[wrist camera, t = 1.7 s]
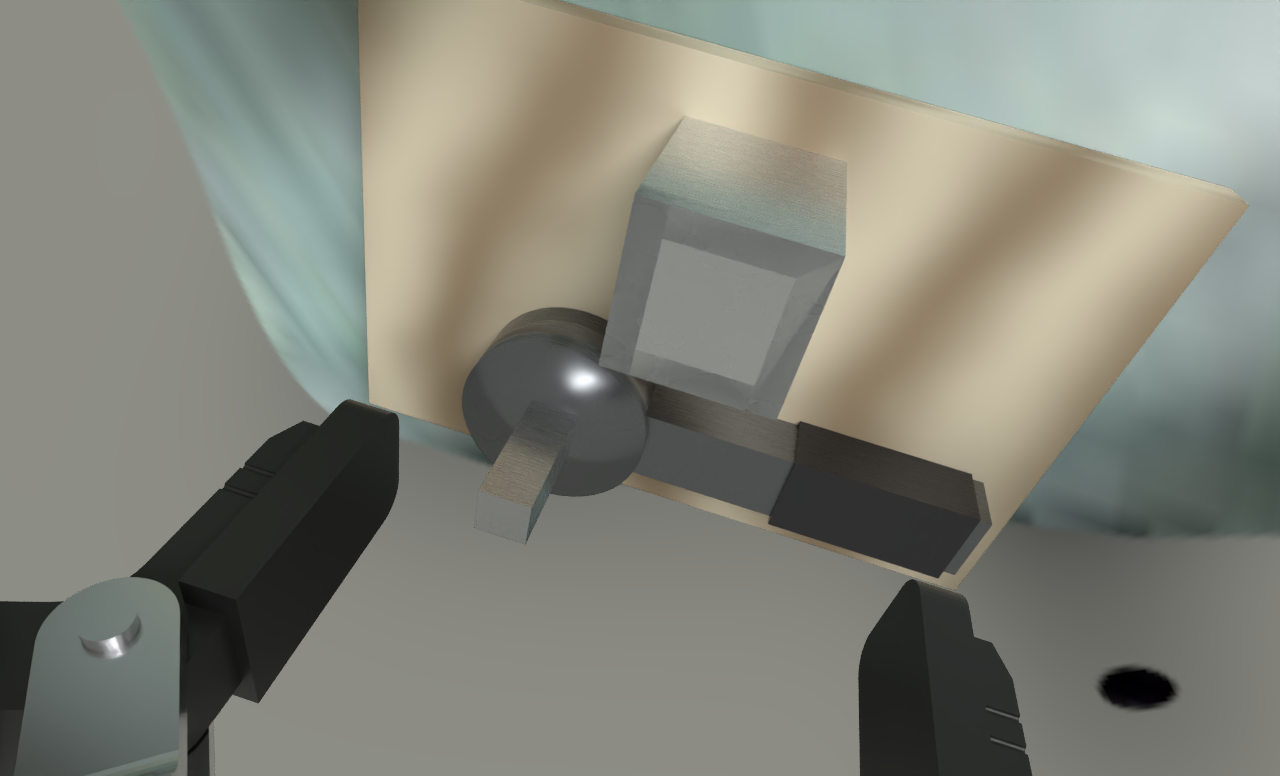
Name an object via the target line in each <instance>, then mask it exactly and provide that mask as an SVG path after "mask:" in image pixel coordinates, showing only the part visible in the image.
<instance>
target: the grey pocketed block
mask: <svg viewBox="0 0 1280 776" xmlns="http://www.w3.org/2000/svg"><path fill="white" fill-rule="evenodd" d="M846 206H847V162H845V161H841V160H838V159H834V158H831V157H827V156H824V155H820V154H817V153H813V152H810V151H806V150H803V149H800V148H796V147H793V146H789V145H786V144H782V143H779V142H775V141H772V140H768V139H765V138H761V137H758V136H754V135H751V134H747V133H744V132H740V131H737V130H733V129H730V128H726V127H723V126H719V125H716V124H712V123H709V122H705V121H702V120H699V119H695V118H692V117H688V116H685V117H684V119H683V120H682V122H681V123H680V125H679V126H678V128H677V129H676V131H675V133H674V134H673V136H672V137H671V139H670V140H669V142H668V143H667V145H666V146H665V148H664V150H663V151H662V153H661V154H660V156H659V157H658V159H657V160H656V162H655V163H654V165H653V167H652V168H651V170H650V171H649V173H648V174H647V176H646V177H645V179H644V180H643V182H642V184H641V185H640V187H639V188H638V190H637V191H636V193H635V194H634V199H633V204H632V209H631V213H630V218H629V223H628V228H627V232H626V237H625V242H624V247H623V251H622V256H621V261H620V265H619V270H618V275H617V280H616V284H615V289H614V294H613V299H612V303H611V308H610V313H609V317H608V322H607V327H606V332H605V336H604V341H603V346H602V351H601V355H600V360H599V366H602V367H605V368H608V369H612V370H615V371H618V372H621V373H625V374H628V375H631V376H634V377H637V378H641V379H644V380H647V381H650V382H653V383H657V384H660V385H663V386H666V387H670V388H673V389H676V390H679V391H682V392H686V393H689V394H692V395H695V396H699V397H702V398H705V399H708V400H711V401H715V402H718V403H721V404H724V405H727V406H731V407H734V408H737V409H740V410H744V411H747V412H750V413H753V414H756V415H760V416H763V417H766V418H769V419H772V420H777V418H778V416H779V413H780V411H781V408H782V406H783V404H784V401H785V399H786V397H787V394H788V392H789V389H790V387H791V385H792V382H793V380H794V378H795V375H796V373H797V371H798V368H799V366H800V363H801V361H802V359H803V356H804V354H805V352H806V349H807V347H808V344H809V342H810V340H811V337H812V335H813V333H814V330H815V328H816V325H817V323H818V321H819V318H820V316H821V314H822V311H823V309H824V306H825V304H826V302H827V299H828V297H829V295H830V292H831V290H832V287H833V285H834V283H835V280H836V278H837V276H838V273H839V271H840V269H841V266H842V264H843V261H844V259H845V257H846Z"/></svg>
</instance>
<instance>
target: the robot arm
mask: <svg viewBox="0 0 1280 776" xmlns="http://www.w3.org/2000/svg"><path fill="white" fill-rule="evenodd" d="M398 481H399V419H398V416H397V415H396V414H395V413H392V412H389V411H385V410H382V409H379V408H376V407H373V406H370V405H366V404H363V403H360V402H357V401H354V400H351V399H349V400H345V401H344V402H342V403H341V404H340V405H339V406H338V407H337V408H336V409H335V410H334V411H333V412H332V413H331V414H330V415H329V417H328V418H327V419H326V420H325V421H324V422H323V423H322V424H321V425H320V426H318V425H314V424H312V423H308V422H305V421H302V422H300V423H298V424H296V425H295V426H292V427H291V428H288V429H286V430H284V431H283V432H281V433H279V434H277V435H275V436H273V437H271V438H269V439H268V440H267V441H266V442H265V443H264V444H263V445H262V446H261V447H260V448H259V449H258V450H257V451H256V452H255V453H254V454H253V455H252V456H251V457H250V459H248V460H247V461H246V462H245V466H244V468H239V470H238V471H237V472H236V473H235V474H234V475H233V476H232V477H231V478H230V479H229V480H228V481H227V482H226V483H225V486H224V488H223V489H219V490H218V491H217V492H216V493H215V494H214V495H213V496H212V497H211V498H210V499H209V500H208V501H207V502H206V503H205V504H204V505H203V506H202V507H201V508H200V509H199V510H198V511H197V512H196V513H195V514H194V515H193V516H192V517H191V518H190V519H189V520H188V521H187V522H186V523H185V524H184V525H183V526H182V527H181V528H180V530H179V531H178V532H176V534H175V535H173V537H172V538H171V539H170V540H169V541H168V542H167V543H166V544H165V545H164V546H163V547H162V548H161V549H160V550H159V551H158V552H157V553H156V554H155V555H154V556H153V557H152V558H151V559H150V560H149V561H148V562H147V563H146V564H145V565H144V566H143V567H142V568H140V569H139V570H138V571H137V572H136V573H134V574H133V575H132V576H130V577H125V578H117V579H112V580H108V581H104V582H100V583H97V584H94V585H92V586H89V587H87V588H85V589H83V590H81V591H79V592H77V593H76V594H74V595H72V596H71V597H69V598H67V599H66V600H65V601H62V602H8V601H5V602H4V601H0V776H215V751H214V750H215V749H214V723H213V720H214V719H215V718H216V716H217V715H218V713H219V712H220V711H221V709H222V708H223V707H224V705H225V704H226V703H227V701H228V700H229V698H230V697H231V696H232V695H235V696H238V697H241V698H244V699H247V700H250V701H253V702H256V703H259V702H260V700H261V699H262V697H263V696H264V695H265V693H266V692H267V690H268V689H269V687H270V686H271V684H272V683H273V681H274V680H275V679H276V677H277V676H278V674H279V673H280V671H281V670H282V669H283V667H284V665H285V664H286V663H287V661H288V660H289V658H290V657H291V655H292V654H293V653H294V651H295V650H296V648H297V647H298V645H299V644H300V642H301V641H302V639H303V638H304V637H305V635H306V634H307V632H308V631H309V629H310V628H311V626H312V625H313V623H314V622H315V621H316V619H317V618H318V616H319V615H320V613H321V612H322V611H323V609H324V608H325V606H326V605H327V603H328V602H329V600H330V599H331V598H332V596H333V595H334V593H335V592H336V590H337V589H338V587H339V586H340V584H341V583H342V582H343V580H344V579H345V577H346V576H347V574H348V573H349V571H350V570H351V569H352V567H353V566H354V564H355V563H356V561H357V560H358V558H359V557H360V555H361V554H362V553H363V551H364V549H365V548H366V547H367V545H368V544H369V542H370V541H371V540H372V538H373V537H374V535H375V534H376V532H377V531H378V529H379V528H380V526H381V525H382V524H383V522H384V520H385V519H386V517H387V516H388V514H389V512H390V510H391V507H392V505H393V502H394V500H395V497H396V493H397V489H398ZM858 680H859V732H860V733H859V736H860V738H859V739H860V776H1032V772H1031V768H1030V763H1029V758H1028V755H1027V754H1025V748H1026V743H1025V738H1024V733H1023V728H1022V724H1021V723H1019V717H1020V713H1019V709H1018V704H1017V699H1016V694H1015V689H1014V684H1013V679H1012V677H1011V676H1010V674H1009V672H1008V670H1007V669H1006V667H1005V665H1004V663H1003V662H1002V660H1001V658H1000V656H999V655H998V653H997V651H996V649H995V647H994V646H993V644H992V643H991V642H988V641H985V640H981V639H979V638H976V637H974V635H973V629H972V623H971V617H970V611H969V606H968V602H967V600H966V598H965V597H964V596H963V595H961V594H958V593H954V592H951V591H948V590H945V589H942V588H938V587H935V586H932V585H929V584H926V583H923V582H919V581H916V580H913V579H912V580H909V581H907V582H906V583H905V585H904V586H903V587H902V588H901V590H900V591H899V593H898V594H897V596H896V597H895V598H894V600H893V601H892V603H891V604H890V606H889V607H888V608H887V610H886V611H885V613H884V614H883V616H882V617H881V618H880V620H879V621H878V623H877V624H876V626H875V627H874V628H873V630H872V631H871V633H870V634H869V636H868V638H867V640H866V643H865V645H864V648H863V651H862V654H861V659H860V665H859V678H858Z"/></svg>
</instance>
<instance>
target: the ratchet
mask: <svg viewBox="0 0 1280 776" xmlns="http://www.w3.org/2000/svg"><path fill="white" fill-rule="evenodd" d="M607 322H608V321H607V320H605V319H603V318H601V317H599V316H597V315H594V314H591V313H588V312H585V311H581V310H577V309H572V308H564V307H549V308H541V309H536V310H533V311H529V312H527V313H524V314H522V315H520V316H518V317H516V318H515V319H513V320H512V321H510V322H509V323H508V324H507V325H506V326H505V327H504V328H503V329H502V330H501V332H500V333H499V334H498V335H497V337H496V338H495V339H494V341H493V342H492V343H491V345H490V346H489V347H488V349H487V350H486V351H485V353H484V354H483V356H482V357H481V358H480V360H479V361H478V362H477V364H476V365H475V366H474V368H473V369H472V370H471V372H470V374H469V375H468V377H467V379H466V382H465V385H464V388H463V394H462V410H463V416H464V419H465V423H466V426H467V428H468V430H469V432H470V435H471V436H472V438H473V440H474V441H475V443H476V445H477V446H478V447H479V449H480V450H481V451H482V452H483V454H484V455H485V456H486V457H487V458H488V459H489V460H490V461H491V462H492V463H493V464H494V465H493V466H492V468H491V470H490V471H489V473H488V475H487V477H486V478H485V480H484V482H483V484H482V485H481V487H480V489H479V490H478V497H477V507H476V517H475V527H474V528H477V529H480V530H483V531H486V532H489V533H492V534H495V535H498V536H501V537H504V538H507V539H511V540H513V541H516V542H519V543H522V544H526V542H527V540H528V538H529V536H530V534H531V532H532V529H533V527H534V525H535V523H536V521H537V519H538V517H539V515H540V513H541V511H542V508H543V506H544V504H545V502H546V500H547V498H548V496H549V494H556V495H561V496H589V495H595V494H598V493H602V492H605V491H608V490H610V489H613V488H614V487H616V486H618V485H620V484H621V483H622V482H624V481H625V480H626V479H627V478H628V477H629V476H630V475H631V474H632V473H636V474H640V475H643V476H646V477H649V478H652V479H655V480H658V481H661V482H665V483H668V484H671V485H674V486H677V487H680V488H683V489H686V490H690V491H693V492H696V493H699V494H702V495H705V496H708V497H712V498H715V499H718V500H721V501H724V502H727V503H730V504H733V505H737V506H740V507H743V508H746V509H749V510H752V511H755V512H759V513H762V514H765V515H768V516H769V518H768V524H769V525H772V526H775V527H778V528H781V529H785V530H788V531H791V532H794V533H797V534H800V535H803V536H806V537H810V538H813V539H816V540H819V541H822V542H825V543H828V544H831V545H835V546H838V547H841V548H844V549H847V550H850V551H853V552H856V553H860V554H863V555H866V556H869V557H872V558H875V559H878V560H881V561H885V562H888V563H891V564H894V565H897V566H900V567H903V568H906V569H910V570H913V571H916V572H919V573H922V574H925V575H928V576H931V577H935V578H939V577H940V576H941V574H942V573H943V572H946V573H950V574H953V575H955V574H956V573H957V572H958V570H959V569H960V567H961V566H962V565H963V563H964V562H965V561H966V559H967V558H968V557H969V555H970V554H971V553H972V551H973V550H974V549H975V547H976V546H977V545H978V543H979V542H980V541H981V539H982V538H983V537H984V535H985V534H986V533H987V531H988V530H989V529H990V527H991V526H992V521H991V516H990V511H989V506H988V502H987V497H986V492H985V487H984V483H983V482H980V481H976V480H973V477H972V474H970V473H967V472H963V471H960V470H957V469H954V468H950V467H947V466H944V465H941V464H938V463H934V462H931V461H928V460H925V459H921V458H918V457H915V456H912V455H909V454H905V453H902V452H899V451H896V450H892V449H889V448H886V447H883V446H880V445H876V444H873V443H870V442H867V441H863V440H860V439H857V438H854V437H851V436H847V435H844V434H841V433H838V432H834V431H831V430H828V429H825V428H822V427H818V426H815V425H812V424H809V423H805V422H802V421H800V423H799V425H796V424H793V423H790V422H786V421H783V420H780V419H777V420H772V419H769V418H766V417H763V416H760V415H756V414H753V413H750V412H747V411H744V410H740V409H737V408H734V407H731V406H727V405H724V404H721V403H718V402H715V401H711V400H708V399H705V398H702V397H699V396H695V395H692V394H689V393H686V392H682V391H679V390H676V389H673V388H670V387H666V386H663V385H660V384H657V383H653V382H650V381H647V380H644V379H641V378H637V377H634V376H631V375H628V374H625V373H621V372H618V371H615V370H612V369H608V368H605V367H602V366H599V360H600V355H601V351H602V346H603V341H604V336H605V332H606V327H607Z"/></svg>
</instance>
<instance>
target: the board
mask: <svg viewBox="0 0 1280 776" xmlns="http://www.w3.org/2000/svg"><path fill="white" fill-rule="evenodd" d="M358 35H359V69H360V103H361V137H362V171H363V206H364V240H365V274H366V308H367V342H368V376H369V403H371V404H374V405H377V406H381V407H384V408H387V409H390V410H393V411H396V412H399V413H402V414H406V415H409V416H412V417H415V418H418V419H421V420H424V421H427V422H430V423H434V424H437V425H440V426H443V427H446V428H449V429H452V430H455V431H459V432H462V433H465V434H468V435H470V432H469V430H468V428H467V426H466V423H465V419H464V416H463V410H462V394H463V388H464V385H465V382H466V379H467V377H468V375H469V374H470V372H471V370H472V369H473V368H474V366H475V365H476V364H477V362H478V361H479V360H480V358H481V357H482V356H483V354H484V353H485V351H486V350H487V349H488V347H489V346H490V345H491V343H492V342H493V341H494V339H495V338H496V337H497V335H498V334H499V333H500V332H501V330H502V329H503V328H504V327H505V326H506V325H507V324H508V323H509V322H510V321H512V320H513V319H515V318H516V317H518V316H520V315H522V314H524V313H527V312H529V311H533V310H536V309H541V308H549V307H564V308H572V309H577V310H581V311H585V312H588V313H591V314H594V315H597V316H599V317H601V318H603V319H605V320H607V321H608V317H609V313H610V308H611V303H612V299H613V294H614V289H615V284H616V280H617V275H618V270H619V265H620V261H621V256H622V251H623V247H624V242H625V237H626V232H627V228H628V223H629V218H630V213H631V209H632V204H633V199H634V194H635V193H636V191H637V190H638V188H639V187H640V185H641V184H642V182H643V180H644V179H645V177H646V176H647V174H648V173H649V171H650V170H651V168H652V167H653V165H654V163H655V162H656V160H657V159H658V157H659V156H660V154H661V153H662V151H663V150H664V148H665V146H666V145H667V143H668V142H669V140H670V139H671V137H672V136H673V134H674V133H675V131H676V129H677V128H678V126H679V125H680V123H681V122H682V120H683V119H684V117H685V116H688V117H692V118H695V119H699V120H702V121H705V122H709V123H712V124H716V125H719V126H723V127H726V128H730V129H733V130H737V131H740V132H744V133H747V134H751V135H754V136H758V137H761V138H765V139H768V140H772V141H775V142H779V143H782V144H786V145H789V146H793V147H796V148H800V149H803V150H806V151H810V152H813V153H817V154H820V155H824V156H827V157H831V158H834V159H838V160H841V161H845V162H847V206H846V257H845V259H844V261H843V264H842V266H841V269H840V271H839V273H838V276H837V278H836V280H835V283H834V285H833V287H832V290H831V292H830V295H829V297H828V299H827V302H826V304H825V306H824V309H823V311H822V314H821V316H820V318H819V321H818V323H817V325H816V328H815V330H814V333H813V335H812V337H811V340H810V342H809V344H808V347H807V349H806V352H805V354H804V356H803V359H802V361H801V363H800V366H799V368H798V371H797V373H796V375H795V378H794V380H793V382H792V385H791V387H790V389H789V392H788V394H787V397H786V399H785V401H784V404H783V406H782V408H781V411H780V413H779V416H778V418H777V419H780V420H783V421H786V422H790V423H793V424H796V425H799V423H800V421H802V422H805V423H809V424H812V425H815V426H818V427H822V428H825V429H828V430H831V431H834V432H838V433H841V434H844V435H847V436H851V437H854V438H857V439H860V440H863V441H867V442H870V443H873V444H876V445H880V446H883V447H886V448H889V449H892V450H896V451H899V452H902V453H905V454H909V455H912V456H915V457H918V458H921V459H925V460H928V461H931V462H934V463H938V464H941V465H944V466H947V467H950V468H954V469H957V470H960V471H963V472H967V473H970V474H972V477H973V480H976V481H980V482H983V483H984V487H985V492H986V497H987V502H988V506H989V511H990V516H991V521H992V526H991V527H990V529H989V530H988V531H987V533H986V534H985V535H984V537H983V538H982V539H981V541H980V542H979V543H978V545H977V546H976V547H975V549H974V550H973V551H972V553H971V554H970V555H969V557H968V558H967V559H966V561H965V562H964V563H963V565H962V566H961V567H960V569H959V570H958V572H957V573H956V574H955V575H953V574H950V573H946V572H943V573H942V574H941V576H940V577H939V578H935V577H931V576H928V575H925V574H922V573H919V572H916V571H913V570H910V569H906V568H903V567H900V566H897V565H894V564H891V563H888V562H885V561H881V560H878V559H875V558H872V557H869V556H866V555H863V554H860V553H856V552H853V551H850V550H847V549H844V548H841V547H838V546H835V545H831V544H828V543H825V542H822V541H819V540H816V539H813V538H810V537H806V536H803V535H800V534H797V533H794V532H791V531H788V530H785V529H781V528H778V527H775V526H772V525H769V524H768V518H769V516H768V515H765V514H762V513H759V512H755V511H752V510H749V509H746V508H743V507H740V506H737V505H733V504H730V503H727V502H724V501H721V500H718V499H715V498H712V497H708V496H705V495H702V494H699V493H696V492H693V491H690V490H686V489H683V488H680V487H677V486H674V485H671V484H668V483H665V482H661V481H658V480H655V479H652V478H649V477H646V476H643V475H640V474H636V473H632V474H631V475H630V476H629V477H628V478H627V479H626V480H625V481H624V482H622V483H621V484H624V485H627V486H630V487H633V488H636V489H639V490H643V491H646V492H649V493H652V494H655V495H658V496H661V497H665V498H668V499H671V500H674V501H677V502H680V503H683V504H686V505H689V506H693V507H696V508H699V509H702V510H705V511H708V512H711V513H714V514H717V515H721V516H724V517H727V518H730V519H733V520H736V521H740V522H743V523H746V524H749V525H752V526H755V527H758V528H761V529H764V530H768V531H770V532H774V533H777V534H780V535H783V536H786V537H789V538H793V539H795V540H799V541H802V542H805V543H808V544H811V545H814V546H817V547H820V548H824V549H827V550H830V551H833V552H836V553H839V554H842V555H845V556H848V557H852V558H855V559H858V560H861V561H864V562H867V563H870V564H873V565H877V566H880V567H883V568H886V569H889V570H892V571H895V572H898V573H902V574H905V575H908V576H911V577H914V578H917V579H920V580H923V581H927V582H930V583H933V584H936V585H939V586H942V587H946V588H948V589H951V590H956V589H957V588H958V586H959V585H960V583H961V582H962V581H963V579H964V578H965V577H966V576H967V574H968V573H969V572H970V570H971V569H972V568H973V567H974V565H975V564H976V563H977V561H978V560H979V559H980V557H981V556H982V555H983V553H984V552H985V551H986V549H987V548H988V547H989V546H990V544H991V543H992V542H993V540H994V539H995V538H996V536H997V535H998V534H999V532H1000V531H1001V530H1002V529H1003V527H1004V526H1005V525H1006V523H1007V522H1008V521H1009V519H1010V518H1011V517H1012V516H1013V514H1014V513H1015V512H1016V510H1017V509H1018V508H1019V506H1020V505H1021V504H1022V502H1023V501H1024V500H1025V498H1026V497H1027V496H1028V495H1029V493H1030V492H1031V491H1032V489H1033V488H1034V487H1035V485H1036V484H1037V483H1038V481H1039V480H1040V479H1041V478H1042V476H1043V475H1044V474H1045V472H1046V471H1047V470H1048V468H1049V467H1050V466H1051V464H1052V463H1053V462H1054V461H1055V459H1056V458H1057V457H1058V455H1059V454H1060V453H1061V451H1062V450H1063V449H1064V447H1065V446H1066V445H1067V443H1068V442H1069V441H1070V440H1071V438H1072V437H1073V436H1074V434H1075V433H1076V432H1077V430H1078V429H1079V428H1080V426H1081V425H1082V424H1083V423H1084V421H1085V420H1086V419H1087V417H1088V416H1089V415H1090V413H1091V412H1092V411H1093V409H1094V408H1095V407H1096V406H1097V404H1098V403H1099V402H1100V400H1101V399H1102V398H1103V396H1104V395H1105V394H1106V392H1107V391H1108V390H1109V389H1110V387H1111V386H1112V385H1113V383H1114V382H1115V381H1116V379H1117V378H1118V377H1119V375H1120V374H1121V373H1122V371H1123V370H1124V369H1125V368H1126V366H1127V365H1128V364H1129V362H1130V361H1131V360H1132V358H1133V357H1134V356H1135V354H1136V353H1137V352H1138V351H1139V349H1140V348H1141V347H1142V345H1143V344H1144V343H1145V341H1146V340H1147V339H1148V337H1149V336H1150V335H1151V334H1152V332H1153V331H1154V330H1155V328H1156V327H1157V326H1158V324H1159V323H1160V322H1161V320H1162V319H1163V318H1164V317H1165V315H1166V314H1167V313H1168V311H1169V310H1170V309H1171V307H1172V306H1173V305H1174V303H1175V302H1176V301H1177V299H1178V298H1179V297H1180V296H1181V294H1182V293H1183V292H1184V290H1185V289H1186V288H1187V286H1188V285H1189V284H1190V282H1191V281H1192V280H1193V279H1194V277H1195V276H1196V275H1197V273H1198V272H1199V271H1200V269H1201V268H1202V267H1203V265H1204V264H1205V263H1206V262H1207V260H1208V259H1209V258H1210V256H1211V255H1212V254H1213V252H1214V251H1215V250H1216V248H1217V247H1218V246H1219V244H1220V243H1221V242H1222V241H1223V239H1224V238H1225V237H1226V235H1227V234H1228V233H1229V231H1230V230H1231V229H1232V227H1233V226H1234V225H1235V224H1236V222H1237V221H1238V220H1239V218H1240V217H1241V216H1242V214H1243V213H1244V212H1245V210H1246V209H1247V208H1248V207H1249V205H1248V204H1247V203H1246V202H1245V201H1244V200H1243V199H1241V198H1240V197H1239V196H1238V195H1237V194H1236V193H1235V192H1233V191H1232V190H1231V189H1230V188H1227V187H1223V186H1219V185H1216V184H1212V183H1209V182H1205V181H1202V180H1198V179H1194V178H1191V177H1187V176H1184V175H1180V174H1177V173H1173V172H1169V171H1166V170H1162V169H1159V168H1155V167H1152V166H1148V165H1144V164H1141V163H1137V162H1134V161H1130V160H1127V159H1123V158H1119V157H1116V156H1112V155H1109V154H1105V153H1102V152H1098V151H1094V150H1091V149H1087V148H1084V147H1080V146H1077V145H1073V144H1070V143H1066V142H1062V141H1059V140H1055V139H1052V138H1048V137H1045V136H1041V135H1037V134H1034V133H1030V132H1027V131H1023V130H1020V129H1016V128H1012V127H1009V126H1005V125H1002V124H998V123H995V122H991V121H987V120H984V119H980V118H977V117H973V116H970V115H966V114H962V113H959V112H955V111H952V110H948V109H945V108H941V107H937V106H934V105H930V104H927V103H923V102H920V101H916V100H912V99H909V98H905V97H902V96H898V95H895V94H891V93H887V92H884V91H880V90H877V89H873V88H870V87H866V86H863V85H859V84H855V83H852V82H848V81H845V80H841V79H838V78H834V77H830V76H827V75H823V74H820V73H816V72H813V71H809V70H805V69H802V68H798V67H795V66H791V65H788V64H784V63H780V62H777V61H773V60H770V59H766V58H763V57H759V56H755V55H752V54H748V53H745V52H741V51H738V50H734V49H730V48H727V47H723V46H720V45H716V44H713V43H709V42H705V41H702V40H698V39H695V38H691V37H688V36H684V35H680V34H677V33H673V32H670V31H666V30H663V29H659V28H655V27H652V26H648V25H645V24H641V23H638V22H634V21H631V20H627V19H623V18H620V17H616V16H613V15H609V14H606V13H602V12H598V11H595V10H591V9H588V8H584V7H581V6H577V5H573V4H570V3H566V2H563V1H559V0H358Z"/></svg>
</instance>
